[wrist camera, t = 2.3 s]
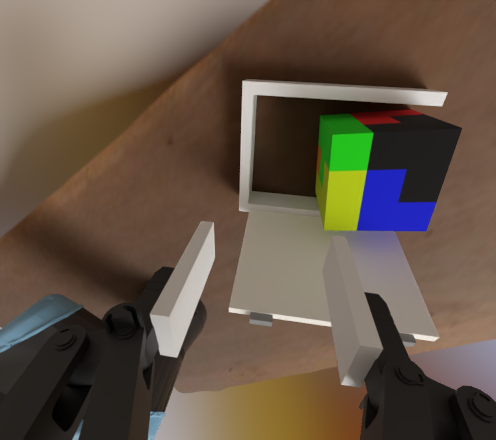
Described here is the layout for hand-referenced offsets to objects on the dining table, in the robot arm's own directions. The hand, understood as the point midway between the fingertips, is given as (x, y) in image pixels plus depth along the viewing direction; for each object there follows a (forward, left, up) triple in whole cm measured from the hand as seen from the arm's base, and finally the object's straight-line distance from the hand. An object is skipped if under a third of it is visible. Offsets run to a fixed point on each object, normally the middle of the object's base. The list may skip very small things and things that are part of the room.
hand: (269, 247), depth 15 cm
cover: (+6, -8, -9) cm, 14 cm away
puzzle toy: (+10, 0, -21) cm, 24 cm away
